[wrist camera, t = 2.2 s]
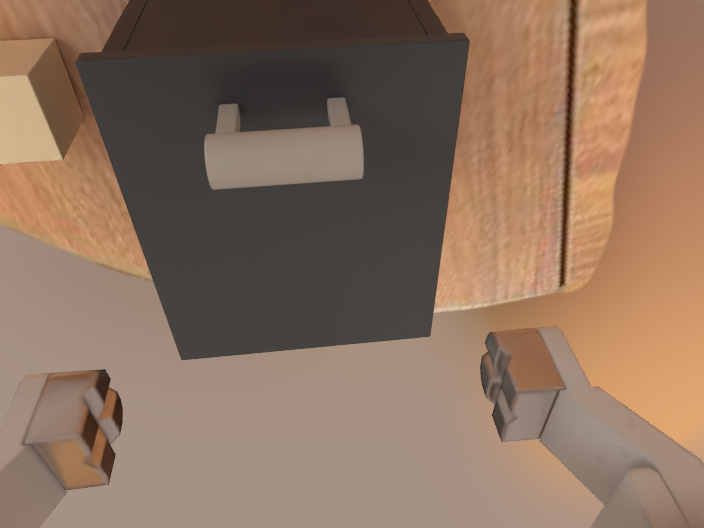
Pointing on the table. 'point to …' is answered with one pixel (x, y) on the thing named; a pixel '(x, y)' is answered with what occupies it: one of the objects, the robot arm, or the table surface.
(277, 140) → the lid
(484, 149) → the table surface
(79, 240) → the table surface
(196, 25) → the dark grey box
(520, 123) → the table surface
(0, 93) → the block
